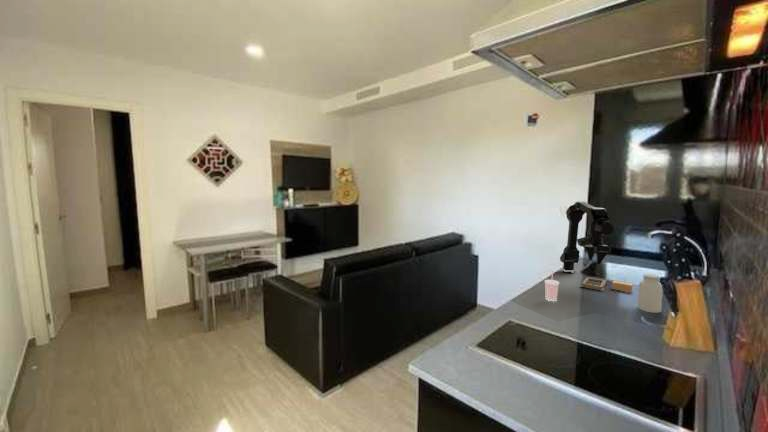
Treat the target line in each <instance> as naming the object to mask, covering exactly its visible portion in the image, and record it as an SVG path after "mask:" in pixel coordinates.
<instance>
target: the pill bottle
mask: <svg viewBox="0 0 768 432" xmlns="http://www.w3.org/2000/svg"><path fill="white" fill-rule="evenodd" d="M642 277H643V278H642V279H643V280H640V281H639V283H638V296H637V308H638V310H640V311H643V312H646V313H652V314H653V313H654V314H658V313H661V312H662V304H663V292H664V291H663V290H664V288H663V289H662V286H663V284H662V283H661V282H660V276H659V275H655V274H648V273H645V274H643V276H642ZM661 284H662V285H661Z"/></svg>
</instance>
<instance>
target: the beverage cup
mask: <svg viewBox="0 0 768 432" xmlns="http://www.w3.org/2000/svg"><path fill="white" fill-rule="evenodd" d="M553 278H554V270H551V279H545V280H544V285H545V286H544V290H545V291H544V292H545V295H544V296H545V299H546V300H548V301H547V302H549V301H553V302H552V303H555V302H554V301H556V302H557V300H558V291H559V285H560V281H559V280H555V279H553ZM545 299H544V300H545ZM546 300H545V301H546Z"/></svg>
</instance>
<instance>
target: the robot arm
mask: <svg viewBox="0 0 768 432" xmlns="http://www.w3.org/2000/svg"><path fill="white" fill-rule="evenodd" d="M565 213H566V219H567V220H568V231H567V232H568V233H567V243H566V244H567V245H566V246H565V247H564V248H563V252H562V253H561V255H560V257H559V261H560V262H561V263H563V265H562V267H563V268H562V270H563V269H565V270H574V271H575V264H578V263H579V261H580V250H579V249H578V247H577V246H580V247H583V248H584V249H585V250H586V252H587V257H588V260H589V261H592V260H593V258H594V256H595V254H596V264H597V265H601V263H602V262H603V260H604V259H605V257H606V256H607V255H608V254H610V252H611V249H612V248H611V247H610V246H609V245H606V244H605V243H604V242H603V238H605V236H610V235H612V234H613V233H614V230H615V228H614V226H613V224H611V222H610V221H611V218H610V216H609V214H608V211H607V210H606V208H604V207H597V206H596V207H595V206H593V205H592V204H589V203H587V202H586V201H576V202H575V203H574V204H572V205H569V206H568V208H567V209H566V211H565ZM585 214H587V215H586V216H587V217H588V218H589V221H588V223H589V232H588V233H587V234H586V235H587V236H583V237H580V238H578V233H579V224H580V222H581V221H582V220H583V217H584V215H585Z"/></svg>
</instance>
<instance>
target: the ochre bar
mask: <svg viewBox="0 0 768 432" xmlns="http://www.w3.org/2000/svg"><path fill="white" fill-rule="evenodd" d="M611 284H612V285H611V290H612V289H616V290H621V291H620V292H622V291H625V292H624V293H628V292H629V294H632V293H633V286H634V285H633V283H630V282H623V281H618V280H613V281H612V283H611ZM616 290H615V291H616Z"/></svg>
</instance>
